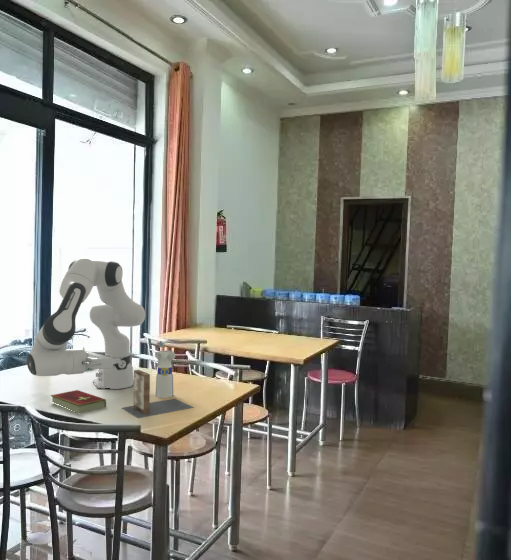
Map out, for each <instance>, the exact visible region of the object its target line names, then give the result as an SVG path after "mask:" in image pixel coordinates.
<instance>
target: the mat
mask: <svg viewBox="0 0 511 560" xmlns="http://www.w3.org/2000/svg"><path fill="white" fill-rule="evenodd" d="M193 408H195V407H194V406H193V405H190V404H188V403H185V402H184V401H181V400H180V399H179V400H178V399H177V398H170V399H164V400H159V401H153V402H150V410H149V414H143V413H141V412H140V411H138V410H136V409H134V405H130V406H125V407H123V406H122V407H121V410H124V411H125V412H127V413H128V414H130V415H132V416H134V417H135V418H137V419H143V418H147V417H151V416H157V415H158V416H159V415H163V414H169V413H172V412H173V413H174V412H178V411H184V410H188V409H193Z"/></svg>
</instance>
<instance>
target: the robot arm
mask: <svg viewBox="0 0 511 560" xmlns="http://www.w3.org/2000/svg"><path fill="white" fill-rule="evenodd" d="M123 275H124V274H123V268H122V265H120V263H118V262H116V261H112V260H109V259H105V260H104V259H90V258H89V257H80V258H78V259H74V260H73V261H71V263H70V264H69V266H68V270H67V272H66V273H65V274H64V277H63V279H62V281H61V284H60V286H59V287H60V288H59V291H58V292H59V294H60V295H59V296H61V298H62V299H61V302H60V304H59V307H58V309H57V310H56V311H55V312H54V313H52V314H51V315H50V316H49V317H47V319H46V320H45V321H44V324H42V326H41V328H40V329H39V331H38V332H37V334H36V335H35V338H34V341H33V347H32V348H31V351H30V352H29V353H28V354H27V356H26V357H27V358H26V364H27V365H26V366H27V369H28V371H29V372H30V374H31V375H33V376H37V377H55V376H60V375H81V374H82V375H83V374H85V372H86V371H87V370H89V369H88V368H91V370H92V369H93V370H97V371H96V372H95V377H96V378H95V379H94V378H93V380H92V382H93V381H94V383H95V384H96V386H97V387H98V388H97V387H96V386H95V387H96V388H97V389H100V388H101V389H105V388H110V389H109V390H119V389H120V390H121V389H126V388H131V387H132V386H134V368H133V365H131V359H132V358H131V355H130V345H131V342H130V338H129V337H128V336H127V335H125V334H123V333H121V332H120V330H119V328H121V327H123V328H124V327H125V328H127V327H130V328H132V327H137V326H141V325H142V324H143V323H144V321H145V319H146V310H145V308H144V307H143V305H142V304H138V303H137V302H135V301H134V300H133V299H132V298H130V296H129V295H128V294H127V293H126V291H125V288H124V284H123V281H122V279H123ZM94 287H96V290H97V293H98V296H99V299H100V300H101V302H100V303H96V304H93V306H92V307H91V309H90V311H89V319H90V322H91V323H92V324H93V325H95V326H96V327H97V328H98V329H99V331H100V332H101V334H102V337H103V339H104V341H103V342H104V353H105V354H99V353H96V352H93V351H87V350H85V351H84V349H85V348H84V349H83V348H66V344H67V343H68V342H69V341H70V340H72V338H73V337H74V335H75V333H76V326H77V325H76V319H77V318H76V317H77V315H78V312H79V309H80V307H81V305H82V303H84V302H85V300H86V299H87V298H88V297H89V295H90V294H91V292H92V289H93V288H94ZM118 327H119V328H118ZM94 383H93V384H94ZM95 384H94V385H95Z"/></svg>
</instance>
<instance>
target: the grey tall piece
mask: <svg viewBox="0 0 511 560" xmlns="http://www.w3.org/2000/svg"><path fill="white" fill-rule="evenodd" d="M164 344H166V343H164V342H163V341H162V340H160V342H157V345H158V349H160V348H164ZM155 358H156V359H157V361H158V362H157V365H156V367H157V374H156V379H155V380H156V384H155V397H156V398H166V399H167V398H171V397H174V375H173V367H174V365H173V362H172V360H174V359H175V358H176V354H175V352H174V351H173V350H158V351H156V354H155Z"/></svg>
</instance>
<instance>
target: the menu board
mask: <svg viewBox="0 0 511 560" xmlns="http://www.w3.org/2000/svg"><path fill="white" fill-rule="evenodd" d="M133 377H134V384H133V406H134V409H136V410H138V411H140V412H141V413H143V414H149V410H150V403H151V402H150V401H151V399H150V397H151V396H150V395H151V394H150V393H151V392H150V391H151V390H150V388H151V387H150V386H151V385H150V384H151V383H150V382H151V380H150V379H151V374H150V373H149V372H148V373H147V372H145V371H143V370H140V369H135V370H134V369H133Z"/></svg>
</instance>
